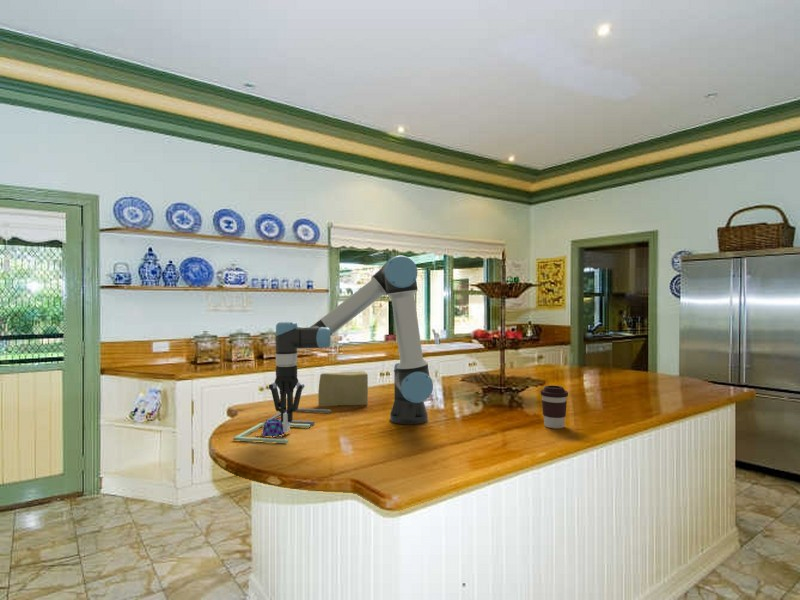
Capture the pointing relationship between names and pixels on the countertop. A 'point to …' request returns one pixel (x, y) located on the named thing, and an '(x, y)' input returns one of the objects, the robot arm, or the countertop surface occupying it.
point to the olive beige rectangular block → (343, 389)
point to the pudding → (273, 428)
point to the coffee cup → (554, 406)
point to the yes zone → (242, 438)
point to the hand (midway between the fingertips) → (286, 430)
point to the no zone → (303, 410)
